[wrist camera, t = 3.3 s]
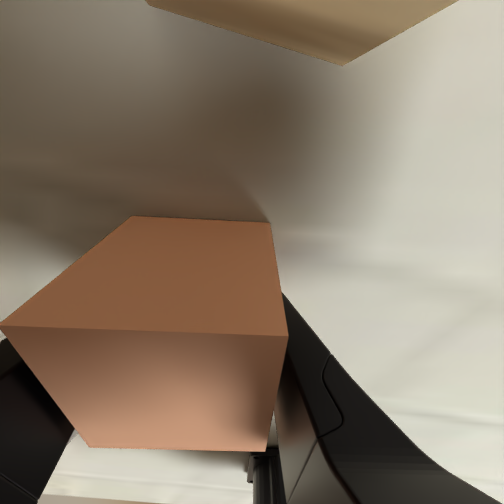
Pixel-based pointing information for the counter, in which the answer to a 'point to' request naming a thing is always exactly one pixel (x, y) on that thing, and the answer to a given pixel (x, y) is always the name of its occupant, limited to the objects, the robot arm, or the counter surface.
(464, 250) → the counter surface
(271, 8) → the maple block
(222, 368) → the terracotta block
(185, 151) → the counter surface
